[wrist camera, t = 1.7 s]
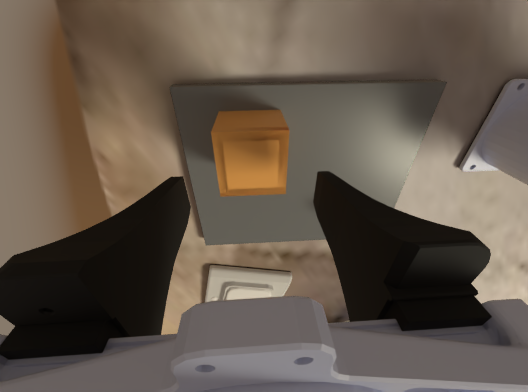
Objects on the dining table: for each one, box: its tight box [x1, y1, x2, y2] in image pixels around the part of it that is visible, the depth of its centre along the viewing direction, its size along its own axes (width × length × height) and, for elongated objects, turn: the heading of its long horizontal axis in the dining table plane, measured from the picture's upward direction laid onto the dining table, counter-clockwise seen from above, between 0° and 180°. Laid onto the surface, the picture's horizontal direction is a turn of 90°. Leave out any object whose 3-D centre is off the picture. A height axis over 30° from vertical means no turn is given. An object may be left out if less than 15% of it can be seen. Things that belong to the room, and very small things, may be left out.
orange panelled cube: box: [211, 110, 289, 197], centre depth 16 cm, size 5×5×4 cm
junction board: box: [170, 80, 447, 245], centre depth 21 cm, size 20×16×1 cm
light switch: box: [204, 265, 292, 303], centre depth 32 cm, size 11×4×13 cm
